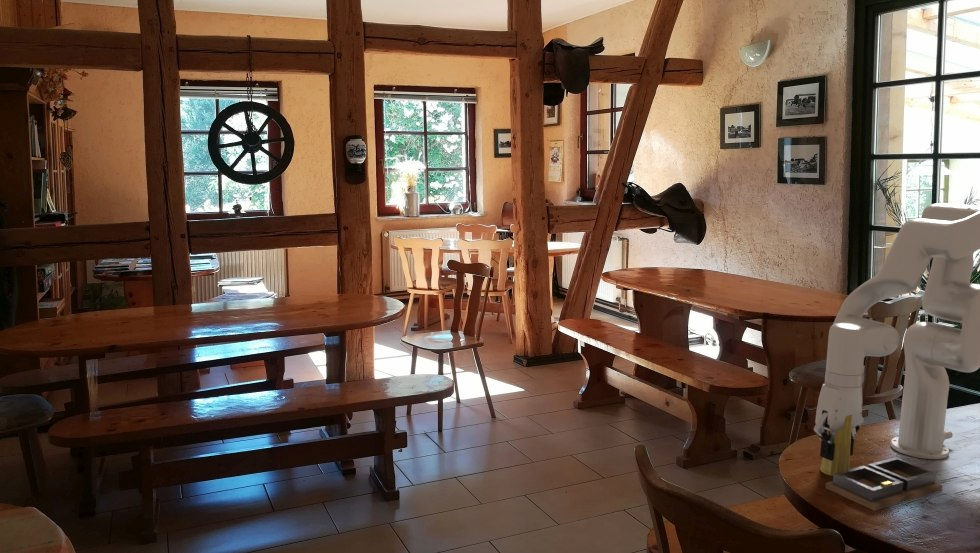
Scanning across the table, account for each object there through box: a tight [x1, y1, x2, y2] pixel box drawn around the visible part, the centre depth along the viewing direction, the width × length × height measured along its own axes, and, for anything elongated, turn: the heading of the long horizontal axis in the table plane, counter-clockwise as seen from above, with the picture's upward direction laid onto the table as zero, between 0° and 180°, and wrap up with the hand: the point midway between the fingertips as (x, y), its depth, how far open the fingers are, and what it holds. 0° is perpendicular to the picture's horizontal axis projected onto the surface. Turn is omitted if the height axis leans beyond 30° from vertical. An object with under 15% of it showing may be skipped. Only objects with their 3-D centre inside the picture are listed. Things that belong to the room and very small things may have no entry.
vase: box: [819, 415, 853, 477], centre depth 182 cm, size 6×6×14 cm
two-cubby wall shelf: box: [832, 456, 937, 502], centre depth 174 cm, size 21×10×3 cm, turn 118°
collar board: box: [825, 470, 943, 512], centre depth 174 cm, size 22×12×1 cm, turn 118°
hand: (836, 455), depth 182 cm, fingers closed on vase, 5 cm apart
